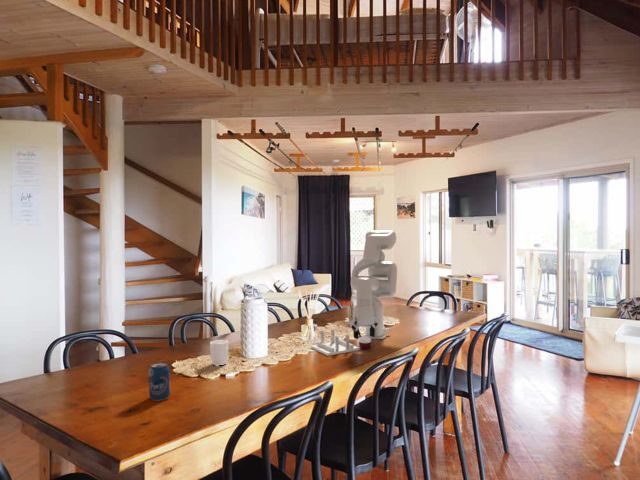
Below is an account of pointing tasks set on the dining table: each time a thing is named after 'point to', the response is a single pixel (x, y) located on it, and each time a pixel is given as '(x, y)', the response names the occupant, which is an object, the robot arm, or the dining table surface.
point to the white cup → (219, 351)
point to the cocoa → (364, 341)
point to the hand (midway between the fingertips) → (364, 337)
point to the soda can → (159, 381)
